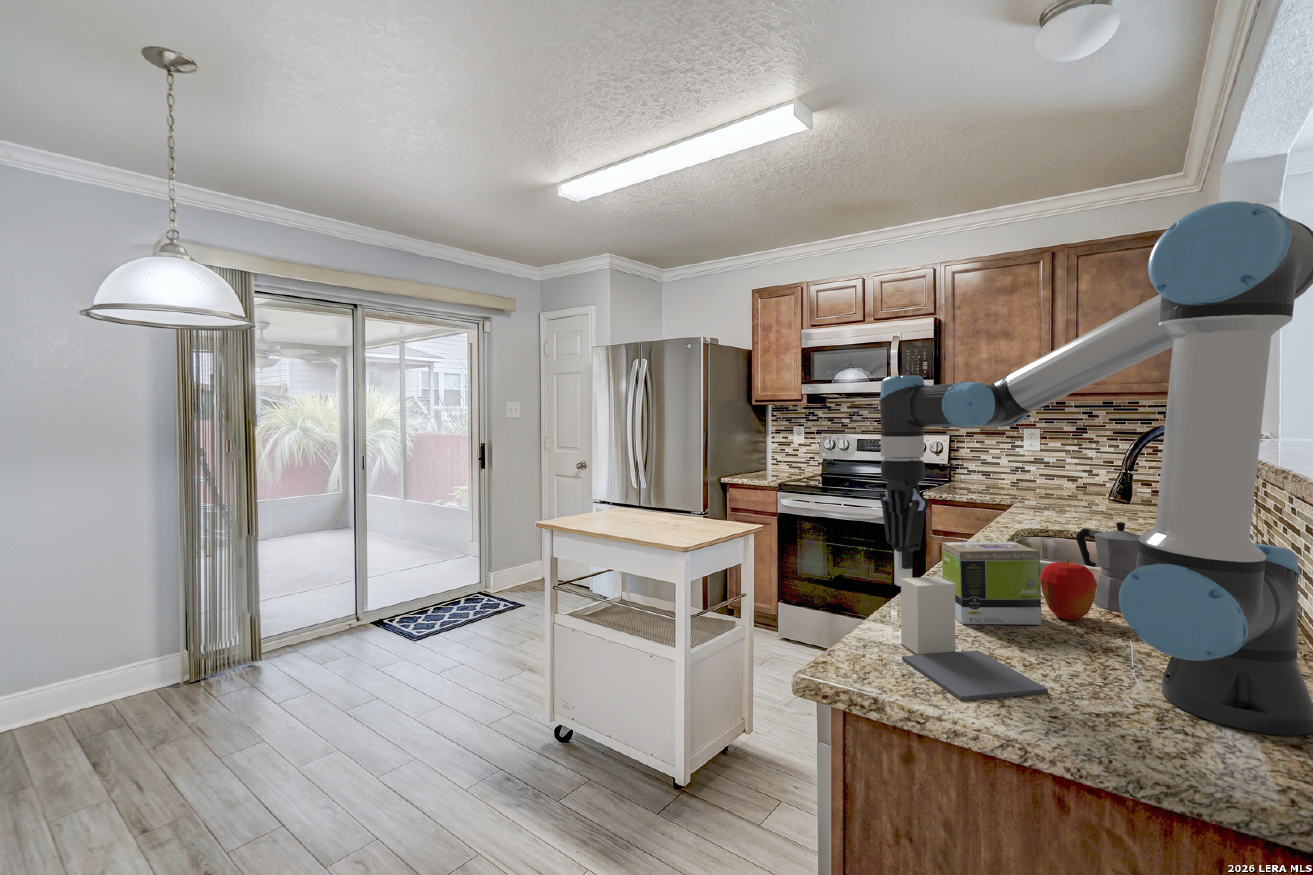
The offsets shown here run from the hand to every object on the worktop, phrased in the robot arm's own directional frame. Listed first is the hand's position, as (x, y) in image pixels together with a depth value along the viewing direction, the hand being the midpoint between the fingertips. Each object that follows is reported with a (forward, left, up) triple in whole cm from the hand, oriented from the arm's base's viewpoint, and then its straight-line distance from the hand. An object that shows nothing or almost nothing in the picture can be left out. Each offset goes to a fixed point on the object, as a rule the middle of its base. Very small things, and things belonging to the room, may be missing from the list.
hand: (903, 584), depth 111 cm
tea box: (+5, -22, -10) cm, 25 cm away
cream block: (-8, 0, -9) cm, 12 cm away
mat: (-19, 0, -9) cm, 21 cm away
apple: (+2, -37, -10) cm, 38 cm away
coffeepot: (+7, -53, -10) cm, 54 cm away
